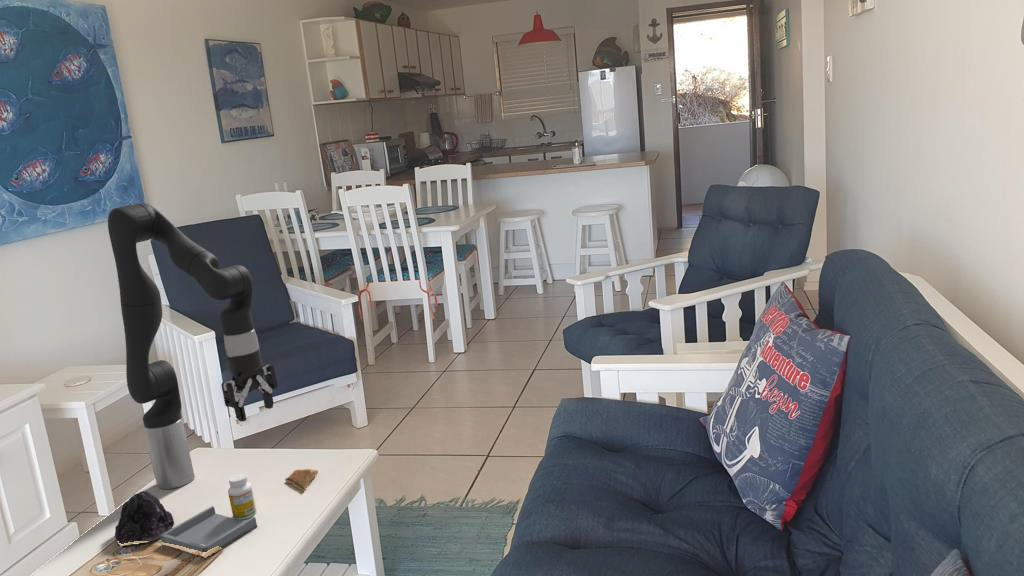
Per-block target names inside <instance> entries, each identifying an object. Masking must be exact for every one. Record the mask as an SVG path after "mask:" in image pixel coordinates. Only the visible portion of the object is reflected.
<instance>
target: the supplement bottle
mask: <svg viewBox="0 0 1024 576" xmlns="http://www.w3.org/2000/svg"><path fill="white" fill-rule="evenodd" d="M247 477H248V476H247V474H246V473H239V474H234V475H233V476H231V477H229V478H228V483H229V488H228V491H227V493H228V494H227V495H228V499H229V505H230V507H231V508H230V509H231V512H232V518H234V519H238V520H242V521H245V520H249V519H250V518H252V517H255V515H256V514H257V505H256V501H255V495H254V491H253V487H252V484H251V483H250V482H248V478H247Z"/></svg>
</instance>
